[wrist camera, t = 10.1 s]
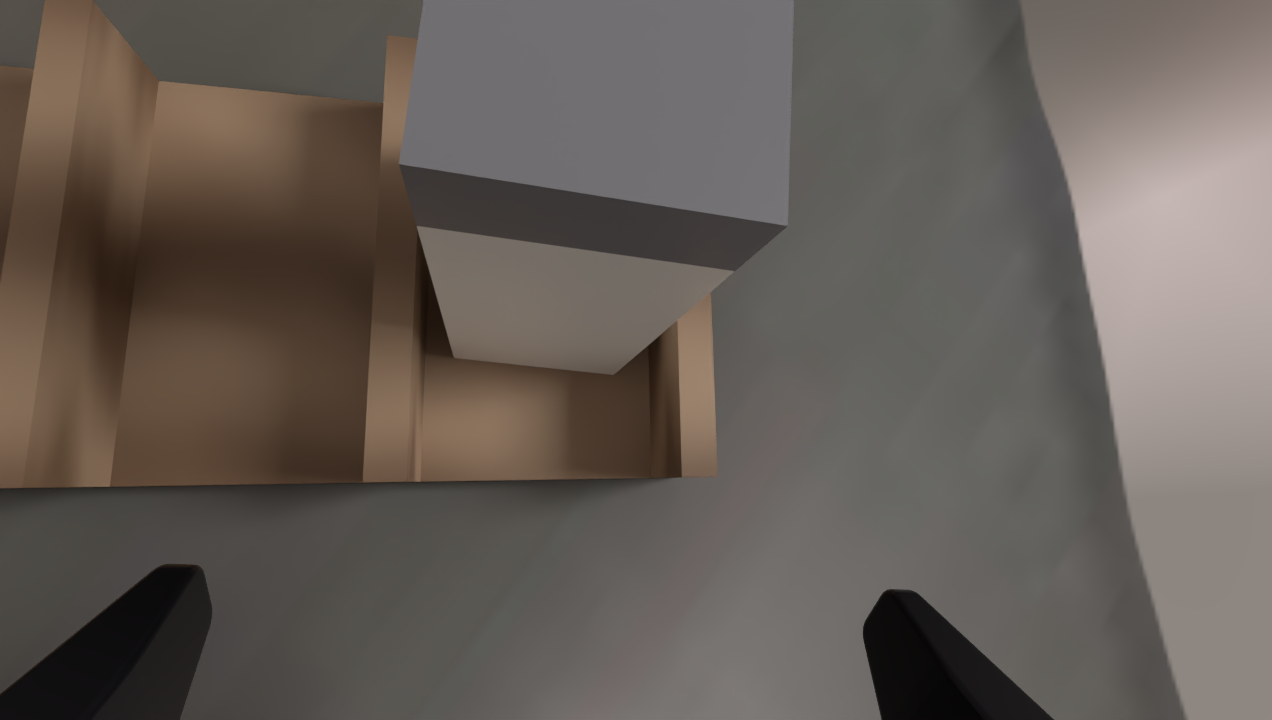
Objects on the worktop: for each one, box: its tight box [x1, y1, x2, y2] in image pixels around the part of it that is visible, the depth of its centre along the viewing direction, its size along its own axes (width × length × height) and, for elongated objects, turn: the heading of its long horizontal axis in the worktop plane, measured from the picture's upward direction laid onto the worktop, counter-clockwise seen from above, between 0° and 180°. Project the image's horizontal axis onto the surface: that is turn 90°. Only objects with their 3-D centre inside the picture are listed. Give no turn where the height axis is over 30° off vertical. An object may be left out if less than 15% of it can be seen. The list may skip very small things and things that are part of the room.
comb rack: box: [0, 0, 718, 488], centre depth 19 cm, size 12×25×4 cm, turn 91°
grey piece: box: [399, 0, 794, 375], centre depth 15 cm, size 5×5×13 cm
